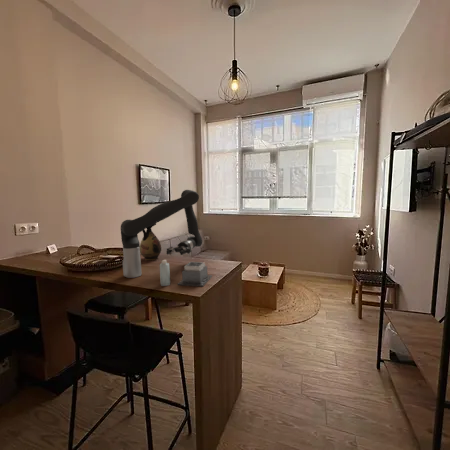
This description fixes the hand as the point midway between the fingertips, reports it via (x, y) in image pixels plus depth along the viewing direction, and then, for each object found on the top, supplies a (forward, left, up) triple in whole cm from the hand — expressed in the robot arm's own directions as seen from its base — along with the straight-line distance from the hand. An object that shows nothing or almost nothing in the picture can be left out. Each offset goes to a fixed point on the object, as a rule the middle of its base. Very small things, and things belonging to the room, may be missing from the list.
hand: (174, 253), depth 142 cm
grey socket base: (+14, -4, -14) cm, 20 cm away
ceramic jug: (-36, +34, -14) cm, 52 cm away
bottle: (0, -12, -14) cm, 18 cm away
